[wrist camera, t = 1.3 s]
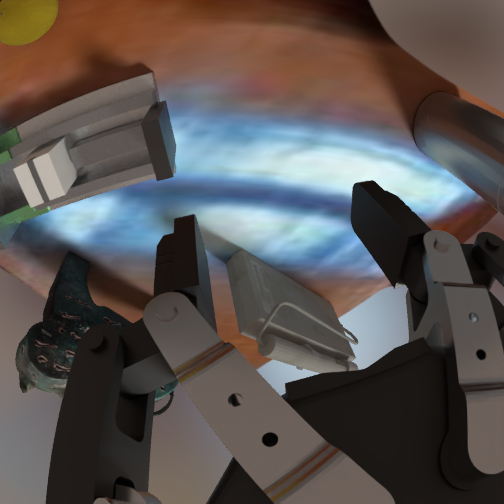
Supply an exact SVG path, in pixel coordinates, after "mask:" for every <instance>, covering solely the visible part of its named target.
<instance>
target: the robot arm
mask: <svg viewBox="0 0 504 504" xmlns="http://www.w3.org/2000/svg"><path fill="white" fill-rule="evenodd" d="M414 137H415V141H416V144H417V146H418V148H419V149H420V151H421V152H422V153H423V154H425V155H426V156H428V157H429V158H430V159H432V160H433V161H435V162H436V163H438V164H439V165H441V166H442V167H443V168H444V169H446V170H447V171H449V172H450V173H451V174H453V175H454V176H455V177H457V178H458V179H459V180H461V181H462V182H463V183H465V184H466V185H467V186H468V187H470V188H471V189H472V190H473V191H475V192H476V193H477V194H478V195H480V196H481V197H482V198H483V199H484V200H486V201H487V202H488V203H489V204H490V205H492V206H493V207H494V208H495V209H496V210H497V211H498V212H500V213H501V214H502V215H503V216H504V118H502V117H500V116H498V115H496V114H494V113H492V112H490V111H488V110H486V109H484V108H482V107H479V106H477V105H475V104H473V103H471V102H469V101H466V100H464V99H462V98H459V97H457V96H454V95H452V94H449V93H447V92H435V93H433V94H431V95H429V96H428V97H427V98H426V99H425V100H424V101H423V102H422V104H421V105H420V107H419V109H418V111H417V114H416V117H415V122H414ZM351 224H352V227H353V230H354V232H355V233H356V235H357V236H358V237H359V239H360V240H361V241H362V243H363V244H364V246H365V247H366V248H367V250H368V251H369V252H370V254H371V255H372V257H373V258H374V259H375V261H376V262H377V264H378V265H379V267H380V268H381V270H382V271H383V272H384V274H385V275H386V277H387V278H388V280H389V281H390V283H391V284H392V286H393V287H394V289H396V288H399V287H402V286H405V285H406V286H407V288H408V291H407V294H406V304H407V313H408V327H409V343H407V344H404V345H402V346H399V347H397V348H394V349H393V350H392V351H390V352H389V353H387V354H386V355H385V356H383V357H382V358H380V359H379V360H378V361H376V362H375V363H373V364H372V365H370V366H369V367H367V368H365V369H362V370H353V371H341V372H327V373H321V374H318V375H314V376H311V377H307V378H304V379H300V380H296V381H292V382H288V383H285V388H286V393H285V394H284V395H282V396H280V395H279V394H278V393H277V392H276V391H275V390H274V389H273V388H272V387H271V385H270V384H269V383H268V382H267V381H266V380H265V379H264V378H263V377H262V376H261V375H260V374H259V373H258V372H257V370H256V369H255V368H254V367H253V366H252V365H251V364H250V363H249V362H248V361H247V360H246V358H245V357H244V356H243V355H242V354H241V353H240V352H239V351H238V350H237V348H236V347H235V346H234V345H232V344H231V343H229V342H228V343H225V342H224V341H223V340H222V339H221V338H220V337H219V336H218V334H217V327H216V320H215V313H214V306H213V299H212V292H211V284H210V276H209V268H208V261H207V256H206V252H205V248H204V244H203V241H202V237H201V234H200V230H199V226H198V223H197V219H196V216H195V214H193V215H188V216H184V217H180V218H176V219H175V220H174V233H172V234H168V235H164V236H163V237H162V239H161V240H160V242H159V244H158V245H157V252H156V257H157V258H156V267H155V279H154V296H153V299H152V300H151V301H150V302H149V303H148V304H147V306H146V307H145V309H144V312H143V317H142V318H141V319H140V320H138V321H137V322H135V323H133V324H131V325H129V326H127V327H125V328H123V329H121V330H119V331H117V330H116V328H115V327H113V326H112V325H110V324H98V325H95V326H93V327H91V328H89V329H88V330H87V331H86V332H85V333H84V334H83V335H82V336H81V338H80V340H79V342H78V345H77V348H76V352H75V355H74V358H73V362H72V365H71V369H70V373H69V376H68V380H67V384H66V388H65V392H64V396H63V400H62V404H61V409H60V413H59V418H58V422H57V427H56V432H55V438H54V443H53V449H52V455H51V462H50V469H49V477H48V485H47V495H46V504H162V503H161V501H160V500H159V499H158V498H156V497H155V496H154V495H152V494H150V493H148V480H149V462H150V448H151V435H152V423H153V413H154V404H155V395H156V389H158V388H160V387H162V386H164V385H166V384H168V383H170V382H172V381H174V380H176V379H178V381H179V382H180V384H181V385H182V387H183V388H184V390H185V391H186V393H187V394H188V396H189V397H190V399H191V400H192V402H193V403H194V404H195V406H196V407H197V408H198V410H199V411H200V413H201V414H202V416H203V417H204V419H205V420H206V421H207V423H208V424H209V425H210V427H211V428H212V429H213V430H214V432H215V433H216V435H217V436H218V437H219V439H220V440H221V441H222V442H223V444H224V445H225V446H226V448H227V449H228V450H229V451H230V453H231V454H232V455H233V458H232V460H231V462H230V463H229V465H228V467H227V469H226V471H225V472H224V474H223V476H222V478H221V479H220V481H219V483H218V485H217V486H216V488H215V490H214V491H213V493H212V495H211V496H210V498H209V500H208V501H207V503H206V504H504V306H503V305H502V304H501V303H500V301H499V300H498V299H497V298H496V297H495V296H494V295H493V294H492V293H491V292H490V291H489V290H490V288H491V287H492V284H493V283H494V281H495V279H497V280H498V281H499V282H500V283H501V284H502V286H504V241H503V240H502V239H500V238H499V237H497V236H496V235H494V234H492V233H488V232H481V233H479V234H478V235H477V238H476V240H475V243H474V244H459V242H458V240H457V239H456V238H455V237H453V236H452V235H451V234H449V233H447V232H444V231H439V230H431V229H430V228H429V227H428V226H427V225H426V224H425V223H424V222H423V221H422V220H421V219H420V218H419V217H418V216H417V215H416V214H415V213H414V212H413V211H412V210H411V209H410V208H409V207H408V206H407V205H405V203H404V202H403V201H402V200H401V199H400V198H399V197H398V196H396V195H394V194H392V193H390V192H388V191H384V190H383V189H382V188H381V187H380V186H379V185H378V184H377V183H376V182H375V181H373V180H371V181H365V182H358V183H355V184H354V185H353V192H352V207H351Z"/></svg>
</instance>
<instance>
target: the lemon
mask: <svg viewBox="0 0 504 504" xmlns="http://www.w3.org/2000/svg"><path fill="white" fill-rule="evenodd" d="M57 14H58V1H57V0H2V1H1V2H0V42H2V43H5V44H7V45H17V46H18V45H24V44H28V43H31V42H33V41H35V40H37V39H39V38H40V37H41V36H43V35H44V34H45V33H46V32H47V31H48V30H49V29H50V28H51V26H52V25H53V23H54V22H55V19H56V17H57Z"/></svg>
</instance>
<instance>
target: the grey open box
mask: <svg viewBox="0 0 504 504" xmlns="http://www.w3.org/2000/svg"><path fill="white" fill-rule="evenodd" d="M158 102H160V98H159V94H158V90H157V85H156V80H155V76H154V72H150V73H146V74H143V75H139V76H136V77H133V78H130V79H126V80H123V81H120V82H117V83H114V84H111V85H108V86H105V87H103V88H100V89H97V90H94V91H92V92H89V93H87V94H84V95H82V96H79V97H77V98H74V99H72V100H69V101H67V102H65V103H62V104H60V105H58V106H56V107H53V108H51V109H49V110H47V111H45V112H43V113H41V114H39V115H37V116H35V117H33V118H31V119H29V120H27V121H25V122H23V123H21V124H19V125H17V126H16V127H14V128H12V129H10V130H8V131H7V132H5V133H3V134H1V135H0V250H2V249H5V248H6V246H7V244H8V243H9V241H10V239H11V238H12V236H13V235H14V233H15V231H16V230H17V228H18V227H19V225H20V224H21V222H23V221H26V220H28V219H31V218H34V217H36V216H39V215H42V214H44V213H47V212H49V211H50V210H53V209H56V208H59V207H62V206H65V205H68V204H71V203H74V202H77V201H80V200H83V199H86V198H89V197H92V196H95V195H98V194H101V193H105V192H108V191H111V190H115V189H118V188H122V187H125V186H129V185H132V184H136V183H139V182H143V181H147V180H150V179H154V178H156V176H155V173H154V169H153V166H152V162H151V159H150V155H149V152H148V148H147V147H144V148H141V149H137V150H134V151H131V152H127V153H124V154H121V155H117V156H114V157H111V158H108V159H105V160H102V161H99V162H96V163H93V164H90V165H87V166H84V167H81V170H82V171H81V172H80V174H79V175H78V177H77V178H76V180H75V181H74V182H73V184H72V185H71V187H70V188H69V190H68V192H67V193H66V195H64V196H61V197H58V198H55V199H53V200H50V202H47V203H42V204H39V205H37V206H34V207H32V208H31V207H30V205H29V203H28V201H27V199H26V197H25V195H24V192H23V190H22V188H21V186H20V184H19V181H18V179H17V177H16V174H15V172H14V170H13V169H14V168H15V167H16V166H17V165H18V164H19V163H20V162H21V161H22V160H23V159H24V158H25V157H27V156H28V155H29V154H30V153H31V152H32V151H33V150H34V149H36V148H37V147H39V146H42V145H44V144H46V143H48V142H51V141H53V140H55V139H58V138H60V137H62V136H65V135H67V134H69V137H70V140H71V143H72V145H73V144H74V143H75V142H78V141H81V140H83V139H86V138H89V137H92V136H94V135H97V134H100V133H103V132H106V131H109V130H112V129H115V128H118V127H121V126H124V125H128V124H131V123H134V122H138V121H141V120H143V119H144V117H145V115H146V114H147V112H148V110H149V109H150V107H151V105H152V104H155V103H158ZM174 173H176V164H174Z"/></svg>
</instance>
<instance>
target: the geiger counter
mask: <svg viewBox="0 0 504 504" xmlns="http://www.w3.org/2000/svg"><path fill="white" fill-rule="evenodd" d="M226 266H227V271H228V276H229V282H230V287H231V292H232V297H233V302H234V307H235V312H236V317H237V322H238V327H239V332H240V334H242V335H245V336H247V337H250V338H253V339H255V340H256V341H257V342H258V343H259V345H258V351H259V353H260V354H261V355H262V356H265V357H268V358H271V359H274V360H277V361H281V362H284V363H287V364H290V365H293V366H296V367H297V369H299V370H302V369H303V368H304V369H307V370H310V371H314V372H318V373H327V372H341V371H353V370H358V367H357V365H356V364H355V363H353V362H351V361H353V360H354V359H355V358H356V357H355V355H354V353H353V350H352V348H351V346H350V344H349V341H350V342H351V343H353V344H358V340H357V338H356V337H355V336H354V335H353V334H352V333H351V332H349V331H348V330H347V329H345V328H344V327H343V325H342V324H340V322H339V320H338V318H337V315H336V313H335V311H334V309H333V307H332V305H331V303H330V302H328V301H326V300H325V299H323V298H322V297H320V296H318V295H317V294H315V293H314V292H312V291H310V290H309V289H307V288H305V287H304V286H302V285H301V284H299V283H297V282H296V281H294V280H292V279H291V278H289V277H288V276H286V275H284V274H283V273H281V272H279V271H278V270H276V269H275V268H273V267H271V266H270V265H268V264H267V263H265V262H263V261H262V260H260V259H258V258H257V257H255V256H254V255H252V254H250V253H249V252H247V251H246V250H244V249H241V250H239V251H238V252H236V253H235V254H233V255H232V256H231V258H230V259H229V261H228V262H227V264H226ZM344 331H345V332H346V333H348V334H349V335H351V337H352V338H353V339H354V340H355V341H354V340H352V339H350V338H349V337H347V336H346V335H345V333H344Z"/></svg>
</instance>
